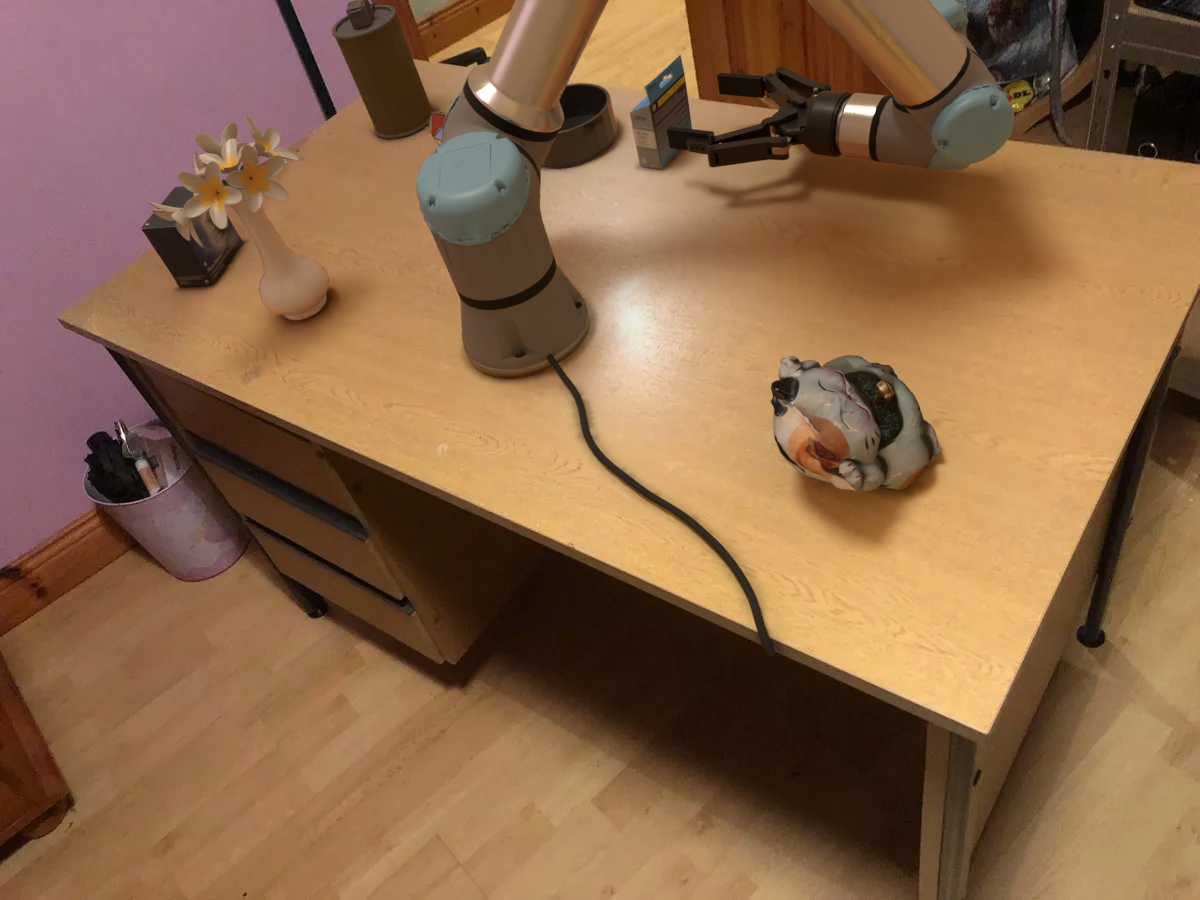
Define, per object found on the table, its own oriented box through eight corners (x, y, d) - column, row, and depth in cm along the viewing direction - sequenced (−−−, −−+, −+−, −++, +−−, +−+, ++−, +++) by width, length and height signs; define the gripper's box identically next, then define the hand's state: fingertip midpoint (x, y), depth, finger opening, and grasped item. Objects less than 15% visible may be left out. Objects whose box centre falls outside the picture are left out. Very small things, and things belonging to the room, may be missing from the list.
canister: (430, 131, 154) (382, 9, 140) (371, 144, 156) (317, 25, 141) (438, 99, 161) (393, -20, 147) (381, 112, 163) (331, -5, 149)
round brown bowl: (637, 126, 140) (629, 92, 136) (573, 177, 134) (563, 142, 130) (571, 110, 148) (562, 76, 144) (508, 156, 143) (497, 123, 139)
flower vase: (226, 345, 126) (114, 183, 108) (315, 261, 135) (226, 99, 117) (292, 364, 119) (185, 196, 102) (381, 274, 129) (298, 105, 111)
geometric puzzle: (492, 120, 147) (451, 85, 144) (480, 144, 142) (436, 109, 139) (468, 149, 152) (427, 115, 149) (455, 172, 147) (412, 139, 144)
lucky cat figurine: (962, 481, 84) (922, 437, 73) (841, 538, 89) (786, 505, 78) (892, 347, 91) (846, 288, 80) (783, 407, 96) (725, 359, 85)
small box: (215, 286, 137) (176, 225, 129) (178, 288, 139) (137, 229, 131) (246, 241, 143) (210, 181, 136) (210, 244, 145) (172, 185, 138)
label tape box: (672, 133, 136) (656, 51, 127) (696, 136, 134) (682, 53, 125) (639, 166, 132) (620, 84, 123) (663, 170, 130) (646, 87, 121)
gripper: (804, 211, 111) (652, 187, 122) (887, 100, 123) (742, 87, 134) (800, 154, 106) (641, 134, 117) (886, 44, 118) (735, 36, 129)
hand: (694, 109), depth 125 cm, fingers open, 13 cm apart
